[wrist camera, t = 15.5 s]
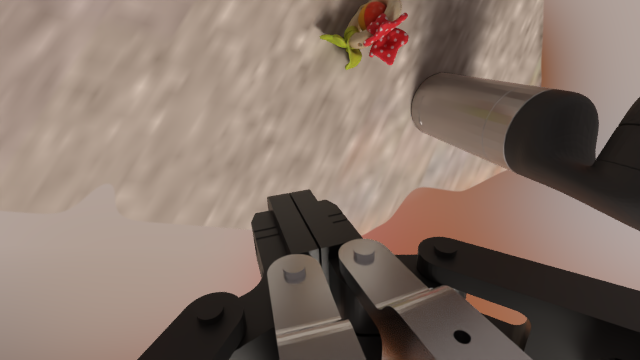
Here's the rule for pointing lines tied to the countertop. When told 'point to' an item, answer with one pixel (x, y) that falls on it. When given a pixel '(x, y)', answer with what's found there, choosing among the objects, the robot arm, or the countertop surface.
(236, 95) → the countertop surface
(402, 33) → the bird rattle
